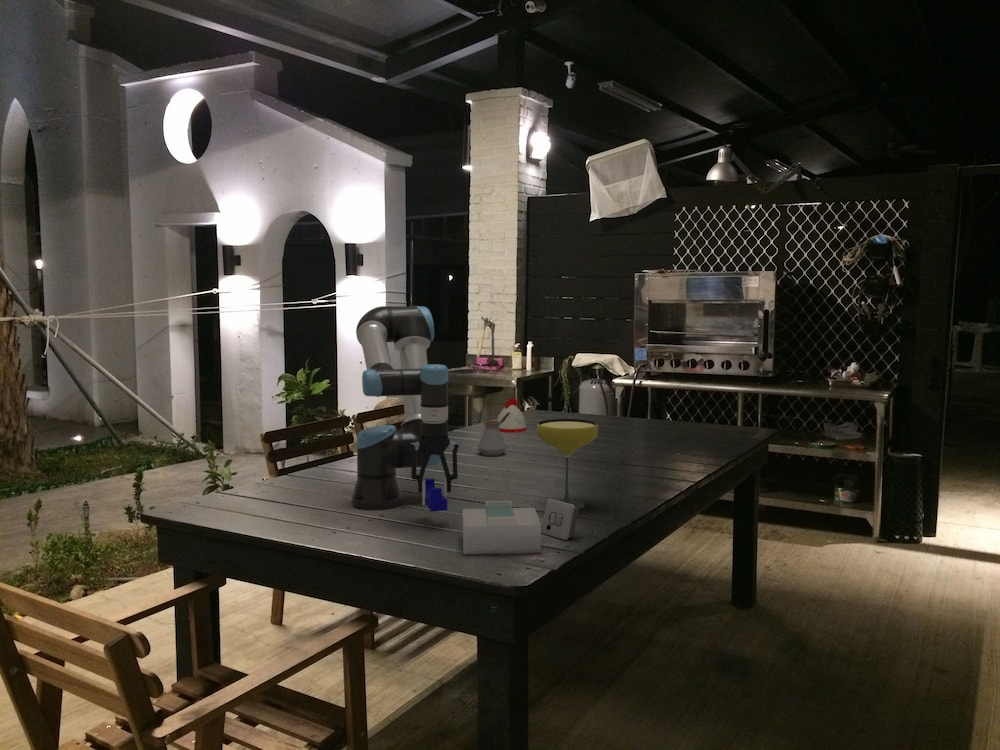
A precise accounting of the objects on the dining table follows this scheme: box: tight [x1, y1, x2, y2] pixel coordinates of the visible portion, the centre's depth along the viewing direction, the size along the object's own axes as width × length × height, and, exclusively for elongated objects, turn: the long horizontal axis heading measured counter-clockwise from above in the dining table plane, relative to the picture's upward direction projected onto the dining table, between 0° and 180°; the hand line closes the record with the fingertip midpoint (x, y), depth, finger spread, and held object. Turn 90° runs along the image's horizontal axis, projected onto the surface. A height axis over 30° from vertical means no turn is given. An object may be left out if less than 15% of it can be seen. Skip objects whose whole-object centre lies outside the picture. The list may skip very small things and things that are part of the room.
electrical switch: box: [541, 498, 580, 541], centre depth 214 cm, size 9×5×9 cm, turn 42°
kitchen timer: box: [496, 397, 527, 434], centre depth 376 cm, size 14×14×15 cm
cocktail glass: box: [536, 418, 599, 510], centre depth 242 cm, size 18×18×25 cm
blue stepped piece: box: [423, 478, 448, 512], centre depth 225 cm, size 12×4×6 cm, turn 15°
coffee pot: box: [477, 412, 512, 457], centre depth 324 cm, size 21×12×15 cm, turn 152°
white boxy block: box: [462, 500, 542, 555], centre depth 206 cm, size 19×16×9 cm
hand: (434, 503), depth 225 cm, fingers closed on blue stepped piece, 5 cm apart
